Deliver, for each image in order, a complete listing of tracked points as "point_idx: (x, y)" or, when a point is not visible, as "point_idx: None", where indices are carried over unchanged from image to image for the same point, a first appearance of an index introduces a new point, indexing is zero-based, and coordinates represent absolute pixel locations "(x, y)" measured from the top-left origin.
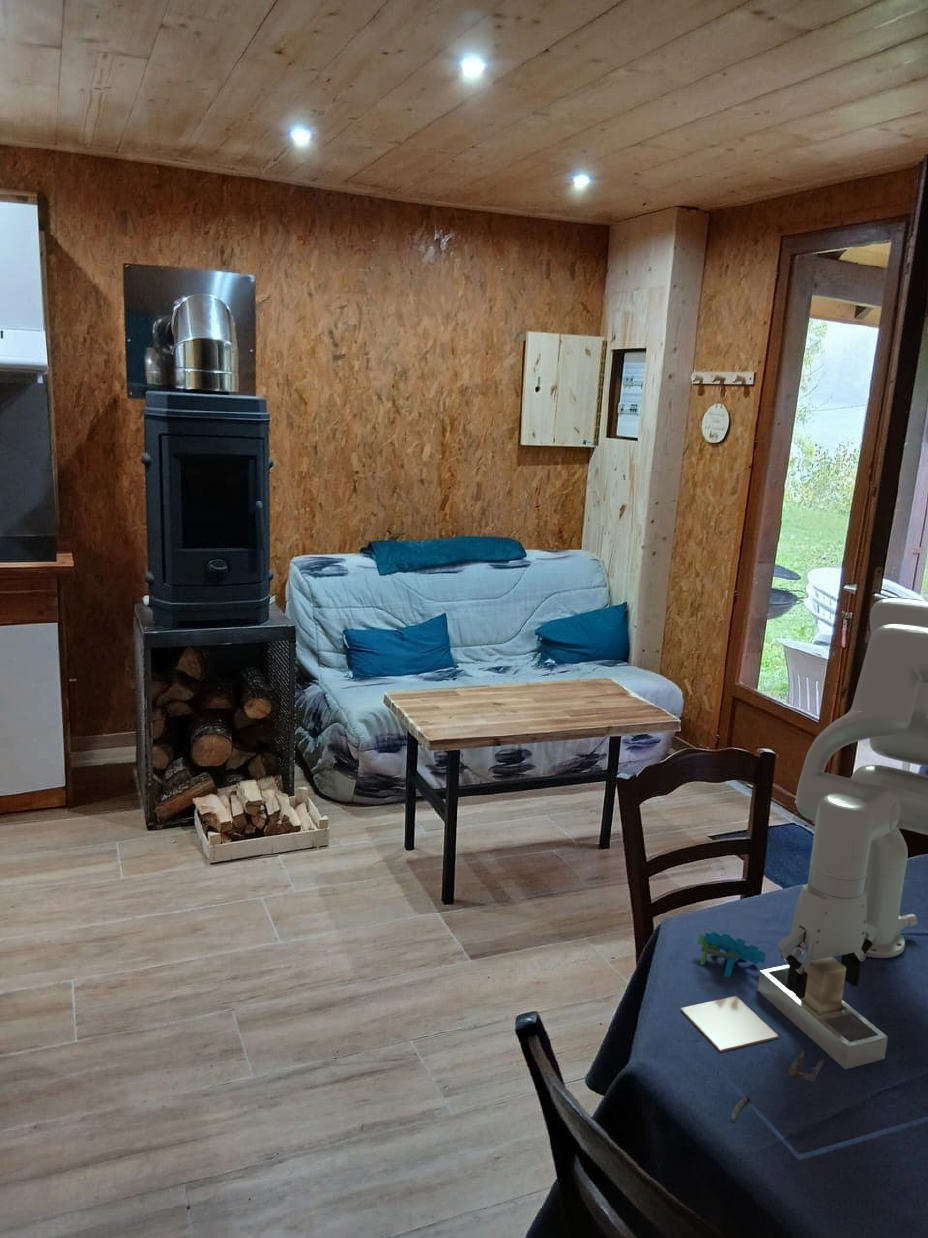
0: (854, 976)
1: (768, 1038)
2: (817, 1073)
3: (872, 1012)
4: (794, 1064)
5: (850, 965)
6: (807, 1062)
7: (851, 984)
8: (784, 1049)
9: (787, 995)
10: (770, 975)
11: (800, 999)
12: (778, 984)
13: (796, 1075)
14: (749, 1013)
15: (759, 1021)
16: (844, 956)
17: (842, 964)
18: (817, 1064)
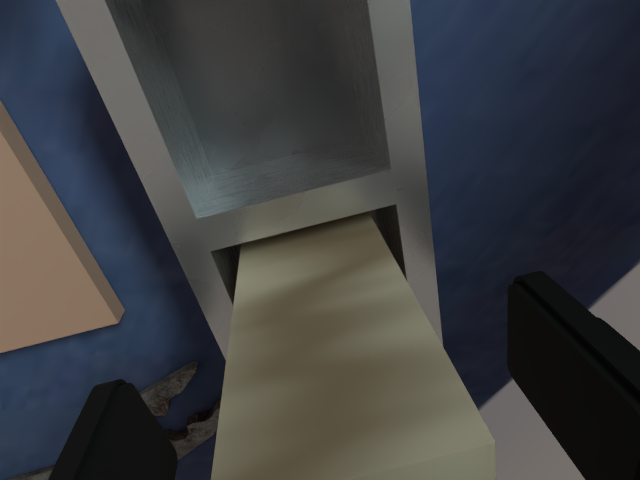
0: (547, 424)
1: (74, 332)
2: (198, 441)
3: (573, 170)
4: None
5: (590, 444)
6: (195, 388)
7: (509, 365)
8: (137, 343)
9: (172, 242)
10: (110, 40)
11: (241, 256)
12: (143, 150)
13: None
14: (12, 194)
15: (54, 247)
16: (631, 431)
17: (568, 359)
18: (214, 413)
